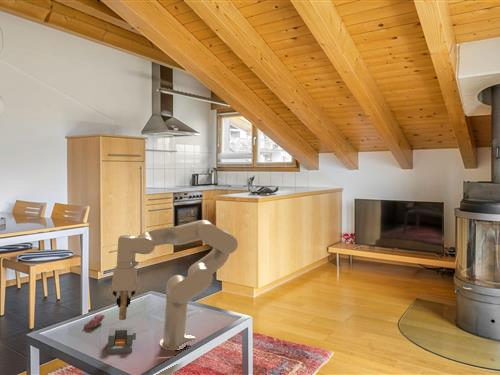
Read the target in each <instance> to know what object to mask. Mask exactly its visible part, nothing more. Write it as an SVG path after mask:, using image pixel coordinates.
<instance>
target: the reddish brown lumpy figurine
mask: <svg viewBox="0 0 500 375" xmlns="http://www.w3.org/2000/svg"><path fill="white" fill-rule="evenodd" d="M104 319H105V315H104V314H101V313H99V314H96V315H94V317H93V318H91V319H90V320H89V321H88V322H87V323H86V324H84V326H83V329H85V330H86V329H87V330H89V329H92V328H95V327H96V326H98V325H100V324H101V322H103V320H104Z"/></svg>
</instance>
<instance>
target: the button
mask: <svg viewBox="0 0 500 375" xmlns="http://www.w3.org/2000/svg"><path fill="white" fill-rule="evenodd" d="M125 342H126V338H122V339H116V340H115V345H114V346H120V345H126V344H125Z"/></svg>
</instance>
